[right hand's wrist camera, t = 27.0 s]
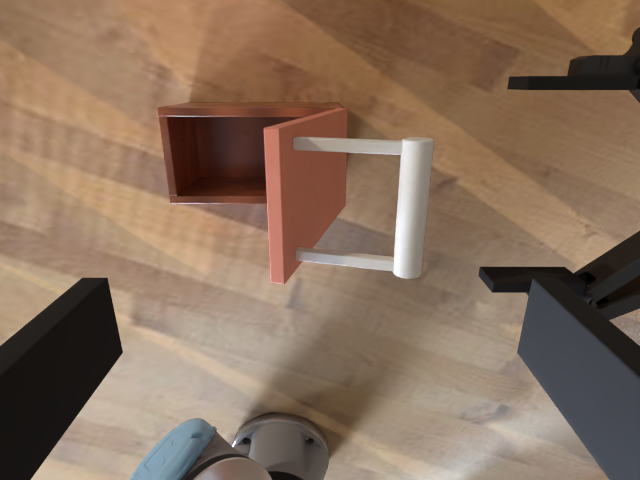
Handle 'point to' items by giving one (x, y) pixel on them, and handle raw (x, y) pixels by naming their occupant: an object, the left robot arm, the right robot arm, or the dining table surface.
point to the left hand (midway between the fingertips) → (499, 189)
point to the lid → (337, 194)
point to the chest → (222, 148)
